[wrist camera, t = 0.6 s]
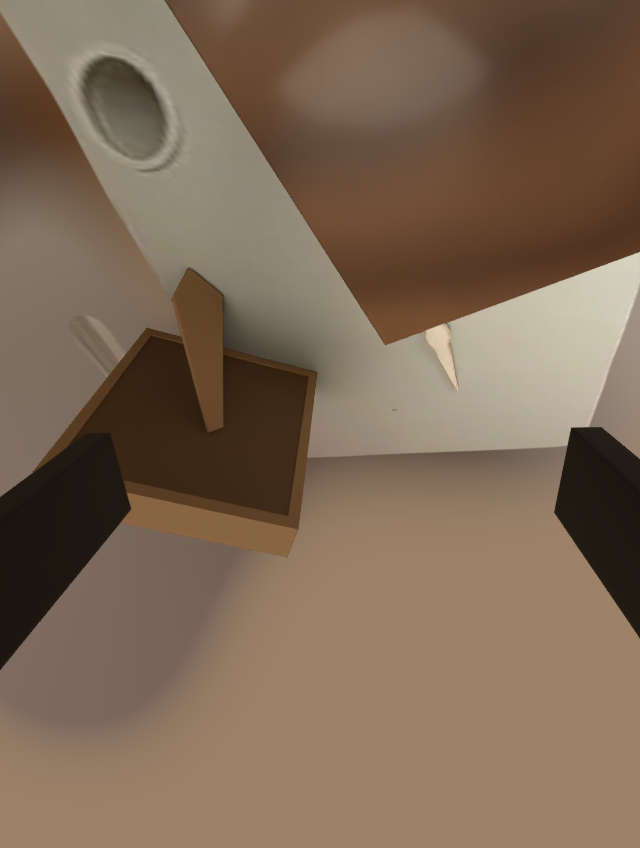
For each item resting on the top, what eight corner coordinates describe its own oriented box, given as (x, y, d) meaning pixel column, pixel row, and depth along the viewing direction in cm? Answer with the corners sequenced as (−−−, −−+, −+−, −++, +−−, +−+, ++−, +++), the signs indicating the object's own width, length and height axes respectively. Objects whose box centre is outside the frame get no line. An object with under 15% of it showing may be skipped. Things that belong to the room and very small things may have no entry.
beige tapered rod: (411, 295, 45) (411, 306, 44) (436, 286, 44) (437, 298, 43) (446, 387, 56) (447, 398, 54) (468, 382, 54) (469, 393, 53)
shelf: (248, -154, 24) (53, -172, 11) (477, -422, 18) (690, -1240, 5) (392, 165, 36) (385, 346, 22) (559, 68, 30) (686, 235, 16)
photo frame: (309, 393, 59) (277, 575, 44) (149, 351, 57) (55, 530, 42) (339, 308, 48) (309, 517, 33) (139, 252, 45) (4, 449, 30)
